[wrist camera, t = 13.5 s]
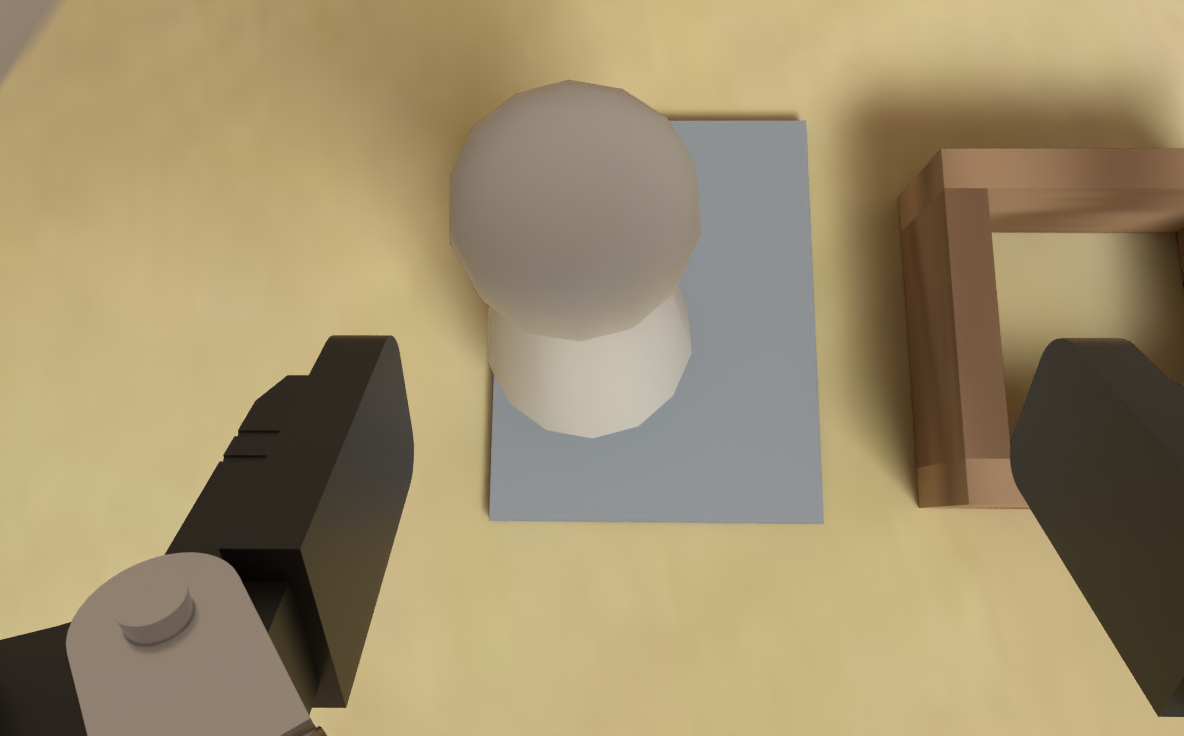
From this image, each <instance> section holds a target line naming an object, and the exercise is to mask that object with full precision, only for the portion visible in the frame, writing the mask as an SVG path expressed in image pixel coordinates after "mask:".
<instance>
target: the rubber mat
mask: <svg viewBox="0 0 1184 736" xmlns="http://www.w3.org/2000/svg"><path fill="white" fill-rule="evenodd" d="M670 123H671V125H672V126H673V128H674V130H675V131H676V133H677V135H678V137H679V138H680V140H681V142H682V144H683V145H684V147H685V149H686V150H687V152H688V154H689V156H690V157H691V159H692V161H693V162H694V164H695V171H696V177H697V187H698V200H699V212H700V225H701V234H700V236H699V239H698V241H697V243H696V245H695V248H694V250H693V252H692V254H691V257H690V259H689V261H688V263H687V266H686V268H685V270H684V272H683V275H682V277H681V279H680V281H679V283H678V287H679V289H680V291H681V294H682V296H683V298H684V301H685V303H686V305H687V308H688V315H689V327H690V339H691V352H692V354H691V356H690V358H689V360H688V363H687V365H686V367H685V370H684V372H683V374H682V376H681V379H680V381H679V383H678V386H677V388H676V390H675V392H674V395H673V396H672V397H671V398H670V399H669V400H668V401H666V402H665V403H664V404H663V405H662V406H661V407H660V408H659V409H657V410H656V411H655V412H654V413H653V414H652V415H651V416H650V417H648V418H647V419H646V420H645V421H644V422H643V423H642V424H640V425H639V426H638V427H634V428H630V429H626V430H623V431H619V432H615V433H611V434H608V435H604V436H600V437H596V438H587V437H581V436H576V435H570V434H565V433H559V432H554V431H549V430H545V429H544V428H543V427H541V426H540V425H539V424H537V423H536V422H535V421H533V420H532V419H531V418H529V417H528V416H526V415H525V414H524V413H522V412H521V411H520V410H518V409H517V408H516V407H514V406H513V405H512V404H510V403H509V402H508V400H507V398H506V396H505V394H504V392H503V390H502V388H501V386H500V385H499V383H498V381H497V379H496V377H495V375H494V385H493V416H492V446H491V477H490V507H489V521H581V522H688V523H795V524H824V517H823V495H822V472H821V449H820V427H819V404H818V381H817V359H816V336H815V313H814V291H813V268H812V245H811V223H810V200H809V178H808V155H807V132H806V121H670Z"/></svg>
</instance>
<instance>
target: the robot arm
mask: <svg viewBox="0 0 1184 736" xmlns="http://www.w3.org/2000/svg"><path fill="white" fill-rule="evenodd" d="M223 456H224V460H223V462H219V464H218V465H217V467H216V469H215V470H214V472H213V474H212V475H211V477H210V479H209V480H208V482H207V484H206V486H205V487H204V489H203V491H202V492H201V494H200V496H199V497H198V499H197V501H196V502H195V504H194V506H193V508H192V509H191V511H190V513H189V514H188V516H187V518H186V519H185V521H184V523H183V524H182V526H181V528H180V530H179V531H178V533H177V535H176V536H175V538H174V540H173V541H172V543H171V545H170V546H169V548H168V550H167V552H166V553H165V555H164V556H160V557H156V558H152V559H149V560H147V561H144V562H141V563H139V564H136V565H134V566H132V567H130V568H128V569H126V570H124V571H122V572H121V573H119V574H117V575H116V576H114V577H113V578H111V579H110V580H108V581H107V582H106V583H104V584H103V585H102V586H100V587H99V588H98V589H97V590H96V591H95V592H94V593H93V594H92V595H91V596H90V597H88V599H87V600H86V601H85V602H84V603H83V605H82V606H81V607H80V608H79V610H78V611H77V613H76V615H75V616H74V618H73V620H72V622H70V623H66V624H63V625H59V626H56V627H52V628H48V629H44V630H39V631H35V632H31V633H27V634H23V635H19V636H15V637H11V638H7V639H3V640H0V736H327V735H326V733H325V732H324V730H323V729H322V728H321V727H320V726H319V727H317V728H316V727H315V725H314V724H313V722H312V720H311V718H310V716H309V715H310V712H311V709H312V708H346V707H347V703H348V700H349V696H350V693H351V689H352V686H353V682H354V679H355V675H356V672H357V668H358V665H359V661H360V658H361V654H362V651H363V647H364V644H365V640H366V637H367V633H368V630H369V626H370V623H371V619H372V616H373V612H374V609H375V605H376V602H377V598H378V595H379V591H380V588H381V584H382V581H383V577H384V574H385V570H386V567H387V563H388V560H389V556H390V553H391V549H392V546H393V542H394V539H395V535H396V532H397V528H398V525H399V521H400V518H401V515H402V511H403V508H404V504H405V501H406V497H407V494H408V490H409V487H410V483H411V478H412V472H413V461H414V442H413V432H412V426H411V420H410V413H409V407H408V401H407V395H406V389H405V382H404V376H403V370H402V364H401V358H400V352H399V348H398V344H397V342H396V339H395V338H394V337H393V336H369V335H333V336H331V337H330V338H328V340H327V342H326V343H325V345H324V347H323V349H322V351H321V353H320V355H319V357H318V359H317V361H316V363H315V364H314V366H313V368H312V370H311V372H310V374H309V375H287V376H286V377H285V378H284V379H282V380H281V381H280V382H279V383H277V384H276V385H275V386H274V387H272V388H271V389H270V390H269V391H267V392H266V393H265V394H263V395H262V396H261V397H260V398H258V399H257V400H256V401H255V403H254V404H253V406H252V408H251V409H250V411H249V413H248V414H247V416H246V418H245V419H244V421H243V423H242V425H241V426H240V428H239V430H238V436H234V438H233V440H232V441H231V443H230V445H229V447H228V448H227V450H226V452H225V453H224V455H223ZM1010 465H1011V471H1012V475H1013V479H1014V481H1015V484H1016V486H1017V488H1018V490H1019V491H1020V493H1021V495H1022V496H1023V498H1024V499H1025V501H1026V503H1027V504H1028V506H1029V508H1030V509H1031V511H1032V512H1033V514H1034V516H1035V517H1036V519H1037V521H1038V522H1039V524H1040V525H1041V527H1042V529H1043V530H1044V532H1045V533H1046V535H1047V537H1048V538H1049V540H1050V542H1051V543H1052V545H1053V546H1054V548H1055V550H1056V551H1057V553H1058V555H1059V556H1060V558H1061V559H1062V561H1063V563H1064V564H1065V566H1066V568H1067V569H1068V571H1069V572H1070V574H1071V576H1072V577H1073V579H1074V581H1075V582H1076V584H1077V585H1078V587H1079V589H1080V590H1081V592H1082V594H1083V595H1084V597H1085V598H1086V600H1087V602H1088V603H1089V605H1090V607H1091V608H1092V610H1093V611H1094V613H1095V615H1096V616H1097V618H1098V620H1099V621H1100V623H1101V624H1102V626H1103V628H1104V629H1105V631H1106V633H1107V634H1108V636H1109V637H1110V639H1111V641H1112V642H1113V644H1114V646H1115V647H1116V649H1117V650H1118V652H1119V654H1120V655H1121V657H1122V659H1123V660H1124V662H1125V663H1126V665H1127V667H1128V668H1129V670H1130V672H1131V673H1132V675H1133V676H1134V678H1135V680H1136V681H1137V683H1138V685H1139V686H1140V688H1141V689H1142V691H1143V693H1144V694H1145V696H1146V698H1147V699H1148V701H1149V702H1150V704H1151V706H1152V707H1153V709H1154V710H1155V712H1156V714H1157V715H1158V717H1184V387H1182V386H1181V385H1179V384H1177V383H1176V382H1174V381H1172V380H1171V379H1168V378H1167V377H1166V376H1165V375H1164V374H1163V373H1162V372H1161V371H1160V370H1159V369H1158V368H1157V367H1156V366H1155V365H1154V364H1153V363H1152V362H1151V361H1150V360H1149V359H1148V358H1147V357H1146V356H1145V355H1144V354H1143V353H1142V352H1141V351H1140V350H1139V349H1138V348H1137V347H1136V346H1135V345H1134V344H1132V343H1131V342H1130V341H1128V340H1126V339H1121V338H1060V339H1056V340H1054V341H1052V342H1051V343H1050V344H1049V345H1048V346H1047V347H1046V349H1045V351H1044V352H1043V355H1042V357H1041V359H1040V362H1039V365H1038V368H1037V370H1036V373H1035V376H1034V379H1033V382H1032V384H1031V387H1030V390H1029V393H1028V395H1027V398H1026V401H1025V404H1024V406H1023V409H1022V412H1021V415H1020V417H1019V420H1018V423H1017V426H1016V428H1015V431H1014V434H1013V437H1012V441H1011V447H1010Z"/></svg>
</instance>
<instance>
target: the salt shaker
mask: <svg viewBox="0 0 1184 736" xmlns="http://www.w3.org/2000/svg"><path fill="white" fill-rule="evenodd" d="M449 229H450V244H451V246H452V248H453V250H454V251H455V253H456V255H457V257H458V259H459V261H460V263H461V264H462V266H463V268H464V270H465V272H466V274H467V276H468V277H469V279H470V281H471V283H472V285H473V287H474V289H475V290H476V292H477V293H478V295H479V296H480V297H481V299H482V300H483V301H484V302H485V303H487V304H488V305H489V311H488V316H487V341H488V363H489V365H490V367H491V369H492V371H493V373H494V375H495V377H496V379H497V381H498V383H499V385H500V386H501V388H502V390H503V392H504V394H505V396H506V398H507V400H508V402H509V403H510V404H512V405H513V406H514V407H516V408H517V409H518V410H520V411H521V412H522V413H524V414H525V415H526V416H528V417H529V418H531V419H532V420H533V421H535V422H536V423H537V424H539V425H540V426H541V427H543V428H544V429H545V430H549V431H554V432H559V433H565V434H570V435H576V436H581V437H587V438H596V437H600V436H604V435H608V434H611V433H615V432H619V431H623V430H626V429H630V428H634V427H638V426H639V425H640V424H642V423H643V422H644V421H645V420H646V419H647V418H648V417H650V416H651V415H652V414H653V413H654V412H655V411H656V410H657V409H659V408H660V407H661V406H662V405H663V404H664V403H665V402H666V401H668V400H669V399H670V398H671V397H672V396H673V395H674V392H675V390H676V388H677V386H678V383H679V381H680V379H681V376H682V374H683V372H684V370H685V367H686V365H687V363H688V360H689V358H690V356H691V354H692V352H691V339H690V327H689V315H688V308H687V305H686V303H685V301H684V298H683V296H682V294H681V291H680V289H679V287H678V283H679V281H680V279H681V277H682V275H683V272H684V270H685V268H686V266H687V263H688V261H689V259H690V257H691V254H692V252H693V250H694V248H695V245H696V243H697V241H698V239H699V236H700V234H701V225H700V212H699V200H698V187H697V177H696V171H695V164H694V162H693V161H692V159H691V157H690V156H689V154H688V152H687V150H686V149H685V147H684V145H683V144H682V142H681V140H680V138H679V137H678V135H677V133H676V131H675V130H674V128H673V126H672V125H671V123H670V121H669V119H668V118H667V117H665V116H664V115H662V114H660V113H659V112H657V111H656V110H654V109H653V108H651V107H650V106H648V105H646V104H645V103H643V102H642V101H640V100H639V99H637V98H636V97H634V96H632V95H631V94H629V93H628V92H626V91H625V90H623V89H619V88H613V87H607V86H602V85H596V84H590V83H584V82H579V81H573V80H566V81H562V82H559V83H555V84H551V85H547V86H544V87H540V88H536V89H532V90H529V91H525V92H521V93H518V94H515V95H514V96H512V97H511V98H510V99H509V100H507V101H506V102H505V103H503V104H502V105H501V106H500V107H498V108H497V109H496V110H494V111H493V112H492V113H490V114H489V115H488V116H487V117H485V118H484V119H483V120H481V121H480V122H479V123H478V124H476V125H475V126H474V127H473V128H472V130H471V132H470V134H469V136H468V138H467V140H466V142H465V145H464V147H463V149H462V151H461V153H460V155H459V157H458V159H457V161H456V163H455V165H454V167H453V169H452V172H451V174H450V222H449Z"/></svg>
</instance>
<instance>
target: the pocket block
mask: <svg viewBox="0 0 1184 736" xmlns="http://www.w3.org/2000/svg"><path fill="white" fill-rule="evenodd" d="M899 211H900V226H901V242H902V257H903V272H904V287H905V302H906V317H907V332H908V347H909V362H910V377H911V392H912V407H913V422H914V437H915V453H916V468H917V483H918V498H919V508H989V509H1030V508H1029V506H1028V504H1027V503H1026V501H1025V499H1024V498H1023V496H1022V495H1021V493H1020V491H1019V490H1018V488H1017V486H1016V484H1015V481H1014V479H1013V475H1012V471H1011V465H1010V438H1009V426H1008V415H1007V404H1006V392H1005V381H1004V370H1003V359H1002V347H1001V336H1000V325H999V313H998V302H997V291H996V280H995V268H994V257H993V246H992V234H991V232H1056V233H1177V239H1178V246H1179V254H1180V261H1181V269H1182V276H1183V283H1184V149H940V151H939V152H938V153H937V154H936V155H935V156H934V157H933V159H932V160H931V161H930V162H929V163H928V164H927V165H926V167H925V168H924V169H923V170H922V171H921V172H920V173H919V175H918V176H917V177H916V178H915V179H914V180H913V181H912V183H911V184H910V185H909V186H908V187H907V188H906V189H905V191H904V192H903V193H902V194H901V195H900V196H899Z"/></svg>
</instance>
